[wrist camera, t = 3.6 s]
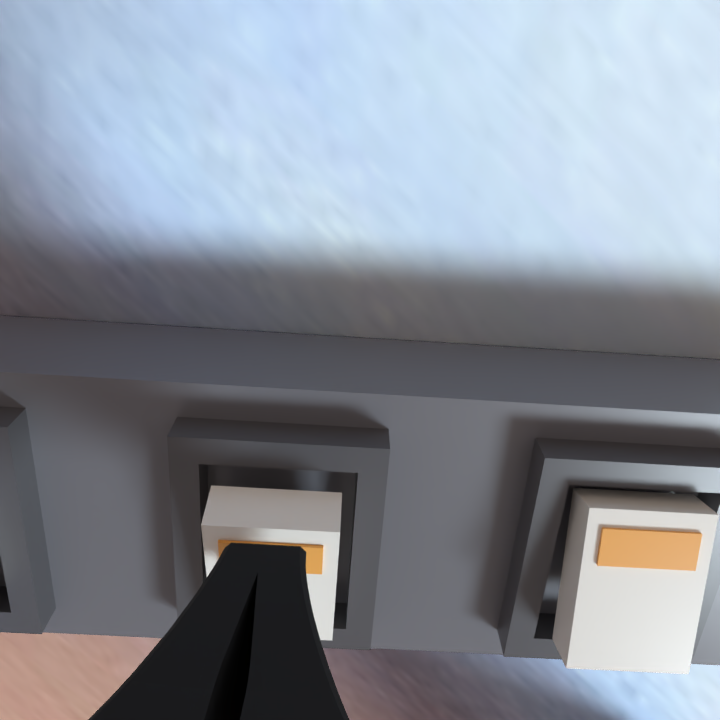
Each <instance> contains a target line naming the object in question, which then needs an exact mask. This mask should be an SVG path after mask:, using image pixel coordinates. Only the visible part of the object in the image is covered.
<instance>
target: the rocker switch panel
mask: <svg viewBox="0 0 720 720" xmlns="http://www.w3.org/2000/svg"><path fill="white" fill-rule="evenodd" d="M211 485H212V486H230V487H249V488H267V489H285V490H303V491H321V492H340V493H342V505H341V527H340V542H339V556H338V570H337V583H336V597H335V611H334V624H333V638H332V640H320V641H321V644H322V648H339V649H360V650H370V649H371V648H377V649H398V650H418V651H439V652H459V653H480V654H501V655H503V656H504V657H525V658H545V659H562V658H561V656H560V654H559V652H558V650H557V648H556V646H555V644H554V642H553V639H552V637H553V630H554V623H555V616H556V609H557V601H558V594H559V587H560V580H561V573H562V565H563V558H564V551H565V544H566V537H567V529H568V522H569V515H570V508H571V501H572V493H573V488H584V489H602V490H620V491H638V492H656V493H674V494H692V495H695V496H696V497H697V498H699V499H700V500H701V501H702V502H704V503H705V504H706V505H707V506H709V507H710V508H711V509H712V510H713V511H715V512H716V513H717V514H718V515H719V517H718V522H717V527H716V533H715V538H714V543H713V549H712V554H711V559H710V564H709V570H708V575H707V580H706V586H705V591H704V596H703V602H702V607H701V612H700V618H699V623H698V628H697V633H696V639H695V644H694V649H693V655H692V660H691V664H706V665H720V360H716V359H700V358H684V357H668V356H651V355H635V354H619V353H602V352H586V351H570V350H554V349H537V348H521V347H505V346H488V345H472V344H456V343H440V342H423V341H407V340H391V339H375V338H358V337H342V336H326V335H309V334H293V333H277V332H261V331H244V330H228V329H212V328H195V327H179V326H163V325H147V324H130V323H114V322H98V321H81V320H65V319H49V318H33V317H16V316H0V632H9V633H30V634H42V633H43V632H47V633H68V634H89V635H109V636H130V637H150V638H163V637H164V635H165V634H166V633H167V632H168V630H169V629H170V628H171V627H172V625H173V624H174V623H175V621H176V620H177V619H178V617H179V616H180V614H181V613H182V612H183V610H184V609H185V608H186V606H187V605H188V604H189V602H190V601H191V600H192V598H193V597H194V596H195V594H196V593H197V591H198V590H199V588H200V587H201V585H202V584H203V582H204V581H205V580H206V578H207V575H206V566H205V557H204V547H203V538H202V529H201V523H202V519H203V515H204V512H205V508H206V504H207V500H208V496H209V492H210V488H211Z"/></svg>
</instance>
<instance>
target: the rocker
mask: <svg viewBox="0 0 720 720" xmlns="http://www.w3.org/2000/svg"><path fill="white" fill-rule="evenodd" d="M718 517H719V515H718V514H717V513H716V512H715V511H713V510H712V509H711V508H710V507H709V506H707V505H706V504H705V503H704V502H702V501H701V500H700V499H699V498H697V497H696V496H695V495H692V494H674V493H656V492H638V491H620V490H602V489H584V488H573V493H572V501H571V508H570V515H569V522H568V529H567V537H566V544H565V551H564V558H563V565H562V573H561V580H560V587H559V594H558V601H557V609H556V616H555V623H554V630H553V637H552V639H553V642H554V644H555V646H556V648H557V650H558V652H559V654H560V656H561V658H562V660H563V662H564V665H565V667H566V668H571V669H592V670H612V671H633V672H654V673H675V674H689V671H690V665H691V660H692V655H693V649H694V644H695V639H696V633H697V628H698V623H699V618H700V612H701V607H702V602H703V596H704V591H705V586H706V580H707V575H708V570H709V564H710V559H711V554H712V549H713V543H714V538H715V533H716V527H717V522H718Z"/></svg>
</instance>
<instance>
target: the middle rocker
mask: <svg viewBox="0 0 720 720" xmlns="http://www.w3.org/2000/svg"><path fill="white" fill-rule="evenodd" d="M341 505H342V493H340V492H321V491H303V490H285V489H267V488H249V487H230V486H212V485H211V488H210V492H209V496H208V500H207V504H206V508H205V512H204V515H203V519H202V523H201V529H202V538H203V547H204V557H205V566H206V575H207V576H208V575H209V573H210V572H211V570H212V569H213V567H214V565H215V564H216V562H217V561H218V559H219V557H220V555H221V554H222V552H223V550H224V548H225V547H226V546H228V545H229V544H230V543H249V544H268V545H286V546H301V547H302V548H303V549H304V550H305V551H306V576H307V584H308V590H309V596H310V601H311V606H312V610H313V615H314V619H315V622H316V626H317V630H318V633H319V637H320V640H332V638H333V624H334V611H335V597H336V583H337V570H338V556H339V542H340V527H341Z"/></svg>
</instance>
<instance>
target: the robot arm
mask: <svg viewBox="0 0 720 720" xmlns="http://www.w3.org/2000/svg"><path fill="white" fill-rule="evenodd" d="M89 720H349V718H348V716H347V713H346V711H345V709H344V706H343V704H342V701H341V699H340V696H339V694H338V691H337V688H336V686H335V683H334V680H333V677H332V675H331V672H330V669H329V666H328V663H327V660H326V657H325V654H324V651H323V648H322V644H321V641H320V637H319V633H318V630H317V626H316V622H315V619H314V615H313V610H312V606H311V601H310V596H309V590H308V584H307V576H306V551H305V550H304V549H303V548H302V547H301V546H286V545H268V544H249V543H230V544H229V545H228V546H226V547H225V548H224V550H223V552H222V554H221V555H220V557H219V559H218V561H217V562H216V564H215V565H214V567H213V569H212V570H211V572H210V573H209V575H208V576H207V578H206V580H205V581H204V582H203V584H202V585H201V587H200V588H199V590H198V591H197V593H196V594H195V596H194V597H193V598H192V600H191V601H190V602H189V604H188V605H187V606H186V608H185V609H184V610H183V612H182V613H181V614H180V616H179V617H178V619H177V620H176V621H175V623H174V624H173V625H172V627H171V628H170V629H169V630H168V632H167V633H166V634H165V635H164V637H163V638H162V639H161V640H160V642H159V643H158V644H157V645H156V646H155V647H154V649H153V650H152V651H151V652H150V653H149V655H148V656H147V657H146V658H145V659H144V661H143V662H142V663H141V664H140V665H139V666H138V668H137V669H136V670H135V671H134V672H133V673H132V675H131V676H130V677H129V678H128V679H127V680H126V681H125V682H124V683H123V684H122V685H121V687H120V688H119V689H118V690H117V691H116V692H115V693H114V694H113V695H112V696H111V697H110V698H109V699H108V700H107V701H106V702H105V703H104V704H103V705H102V706H101V707H100V708H99V709H98V710H97V711H96V712H95V714H94V715H93V716H92V717H91V718H90V719H89Z"/></svg>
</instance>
